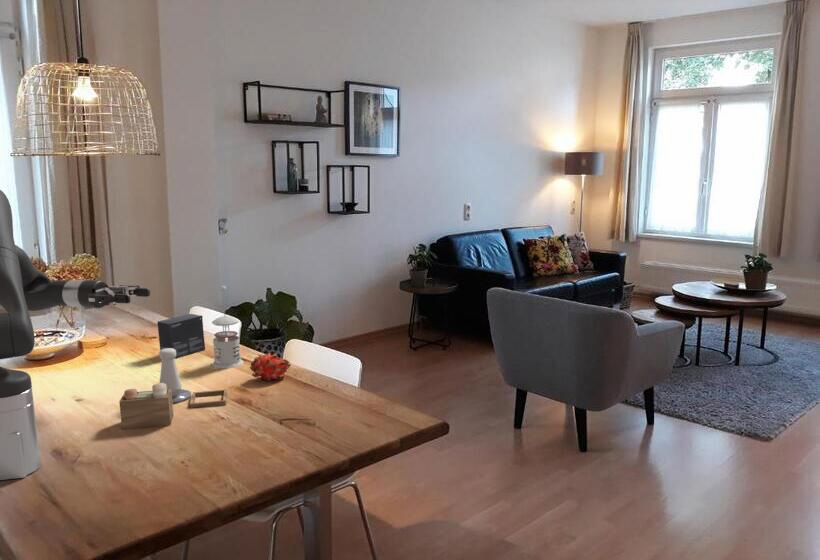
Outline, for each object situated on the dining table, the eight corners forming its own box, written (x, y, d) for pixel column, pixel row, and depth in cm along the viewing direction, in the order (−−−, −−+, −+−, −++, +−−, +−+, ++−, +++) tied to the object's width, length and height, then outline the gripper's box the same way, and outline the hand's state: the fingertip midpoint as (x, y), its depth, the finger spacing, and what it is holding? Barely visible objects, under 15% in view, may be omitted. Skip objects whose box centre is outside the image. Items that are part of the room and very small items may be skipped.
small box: (193, 346, 226) (190, 312, 224) (205, 349, 222) (203, 315, 220) (159, 356, 215) (156, 320, 213) (172, 359, 211) (169, 323, 209)
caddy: (170, 424, 159) (167, 388, 157) (122, 429, 156) (118, 392, 155) (173, 415, 165) (170, 380, 163) (126, 419, 162) (123, 384, 161)
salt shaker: (174, 400, 174) (170, 353, 171) (155, 398, 175) (151, 351, 172) (186, 392, 179) (182, 346, 177) (167, 391, 180) (163, 345, 178)
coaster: (189, 402, 173) (189, 400, 173) (149, 406, 171) (149, 403, 171) (192, 389, 183) (192, 387, 183) (154, 393, 181) (154, 390, 181)
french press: (211, 369, 201) (205, 289, 196) (212, 358, 212) (207, 282, 207) (244, 366, 203) (239, 287, 199) (243, 356, 214) (239, 281, 210)
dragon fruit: (247, 386, 190) (288, 386, 195) (252, 376, 184) (294, 377, 188) (246, 358, 194) (287, 359, 199) (252, 348, 187) (293, 349, 192)
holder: (225, 404, 172) (225, 401, 172) (189, 407, 170) (189, 404, 170) (227, 393, 180) (227, 389, 180) (193, 395, 178) (192, 392, 178)
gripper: (65, 284, 169) (121, 286, 166) (102, 275, 183) (154, 277, 180) (68, 313, 171) (123, 315, 167) (104, 301, 184) (156, 303, 181)
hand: (139, 295), depth 174 cm, fingers open, 8 cm apart
